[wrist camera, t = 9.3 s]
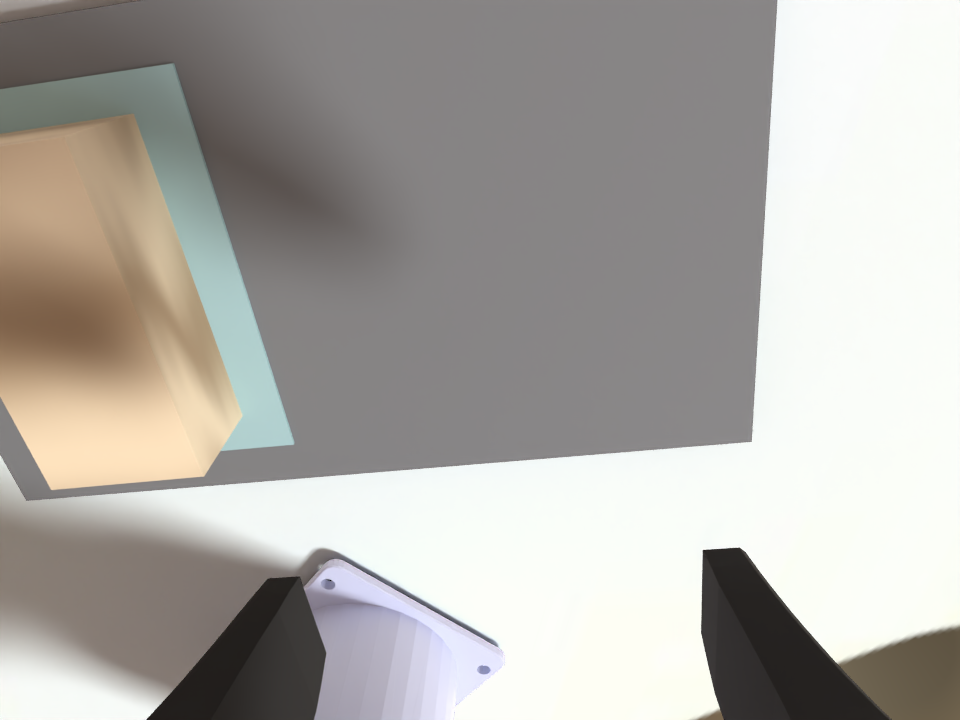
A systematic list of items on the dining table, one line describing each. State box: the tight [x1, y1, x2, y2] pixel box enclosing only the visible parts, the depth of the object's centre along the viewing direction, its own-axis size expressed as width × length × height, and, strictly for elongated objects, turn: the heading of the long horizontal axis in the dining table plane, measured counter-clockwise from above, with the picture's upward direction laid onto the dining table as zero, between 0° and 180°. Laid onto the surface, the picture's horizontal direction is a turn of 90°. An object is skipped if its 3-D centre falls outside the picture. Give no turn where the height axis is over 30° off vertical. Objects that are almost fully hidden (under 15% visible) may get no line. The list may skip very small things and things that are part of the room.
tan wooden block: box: [0, 114, 242, 490], centre depth 18 cm, size 9×4×3 cm, turn 8°
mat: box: [0, 0, 777, 501], centre depth 19 cm, size 24×14×1 cm, turn 98°
